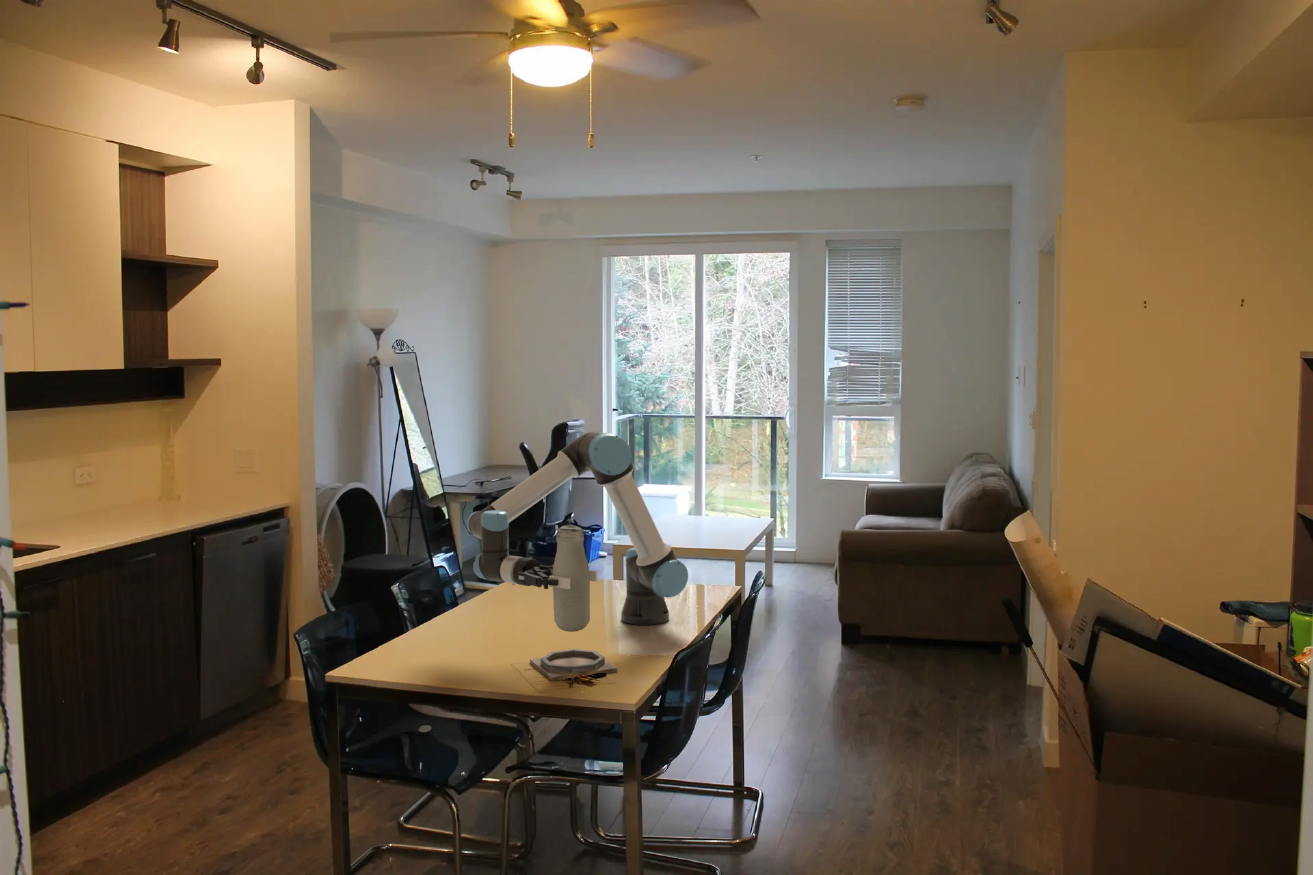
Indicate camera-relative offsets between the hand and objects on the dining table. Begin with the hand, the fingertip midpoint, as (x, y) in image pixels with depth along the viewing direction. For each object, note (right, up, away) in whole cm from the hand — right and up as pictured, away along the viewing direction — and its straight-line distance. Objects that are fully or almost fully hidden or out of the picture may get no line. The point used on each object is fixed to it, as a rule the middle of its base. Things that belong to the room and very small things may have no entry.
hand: (583, 579), depth 256 cm
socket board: (-3, -24, +4) cm, 24 cm away
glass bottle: (-3, -14, +3) cm, 15 cm away
